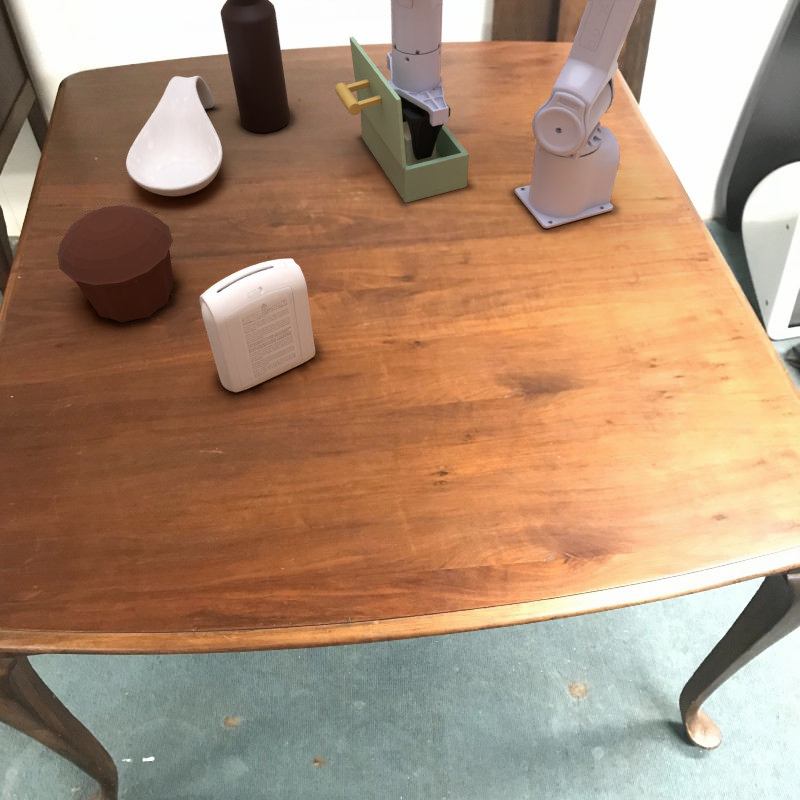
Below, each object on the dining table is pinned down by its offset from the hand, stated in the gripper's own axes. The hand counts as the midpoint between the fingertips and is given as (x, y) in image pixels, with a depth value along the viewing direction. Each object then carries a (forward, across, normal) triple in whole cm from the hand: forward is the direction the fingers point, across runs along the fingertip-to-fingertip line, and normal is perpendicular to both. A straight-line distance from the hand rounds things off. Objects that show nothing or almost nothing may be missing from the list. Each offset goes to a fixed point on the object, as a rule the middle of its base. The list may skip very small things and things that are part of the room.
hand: (416, 147), depth 99 cm
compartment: (+2, 0, 0) cm, 2 cm away
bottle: (+2, -17, -16) cm, 23 cm away
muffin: (+2, +11, -38) cm, 40 cm away
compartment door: (-7, 0, -5) cm, 9 cm away
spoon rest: (+2, -13, -27) cm, 30 cm away
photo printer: (+2, +27, -28) cm, 39 cm away
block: (+1, 0, 0) cm, 1 cm away
